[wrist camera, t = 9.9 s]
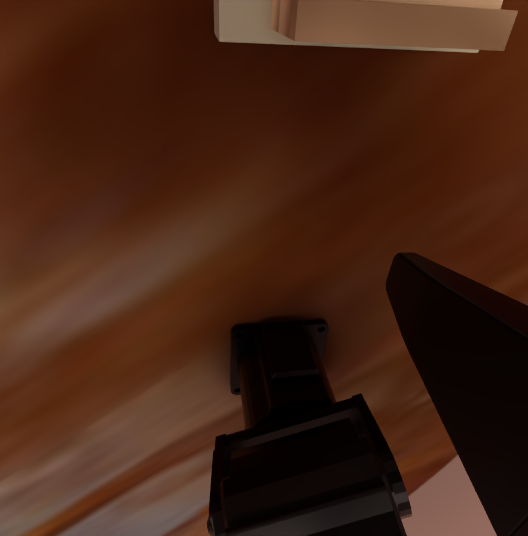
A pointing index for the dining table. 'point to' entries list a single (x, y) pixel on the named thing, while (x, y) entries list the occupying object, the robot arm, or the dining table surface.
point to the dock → (259, 21)
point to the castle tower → (396, 22)
